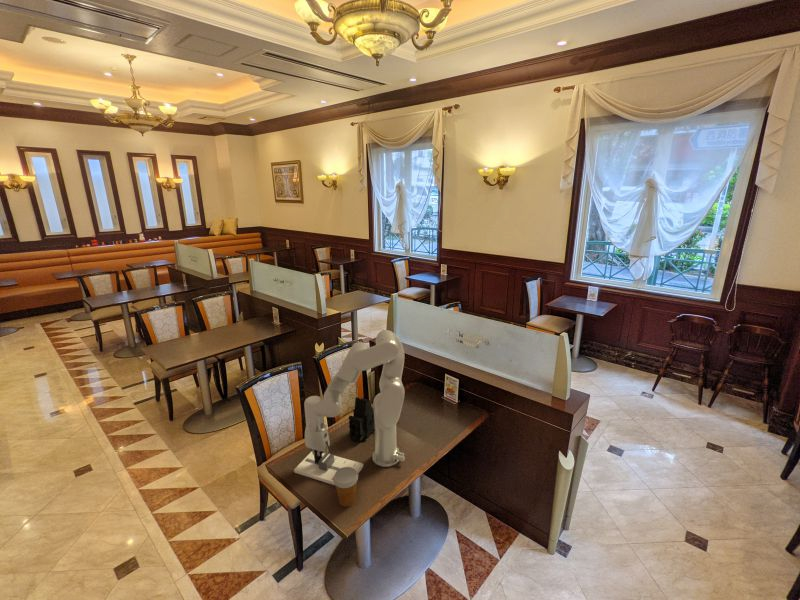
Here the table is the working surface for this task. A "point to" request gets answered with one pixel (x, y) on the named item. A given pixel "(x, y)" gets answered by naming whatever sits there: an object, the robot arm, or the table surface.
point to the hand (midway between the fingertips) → (318, 461)
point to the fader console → (313, 471)
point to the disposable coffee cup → (346, 485)
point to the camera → (361, 420)
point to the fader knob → (326, 461)
